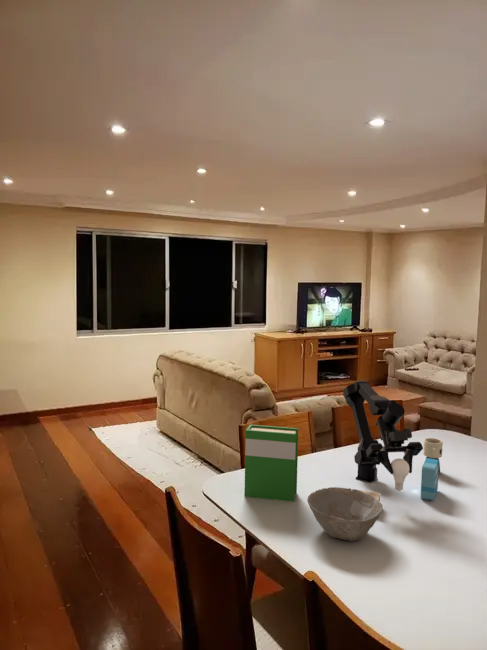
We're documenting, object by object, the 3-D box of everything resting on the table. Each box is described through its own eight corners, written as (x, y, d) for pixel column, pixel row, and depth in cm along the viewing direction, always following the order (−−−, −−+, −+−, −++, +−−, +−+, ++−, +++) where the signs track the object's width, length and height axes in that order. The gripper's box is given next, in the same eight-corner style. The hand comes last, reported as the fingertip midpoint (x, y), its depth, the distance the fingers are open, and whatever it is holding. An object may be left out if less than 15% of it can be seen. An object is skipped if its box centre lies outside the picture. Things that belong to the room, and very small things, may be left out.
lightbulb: (386, 486, 177) (387, 455, 176) (404, 486, 177) (405, 455, 176) (393, 494, 171) (394, 462, 170) (411, 494, 171) (413, 462, 170)
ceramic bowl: (337, 561, 141) (339, 526, 140) (292, 525, 161) (293, 494, 160) (398, 543, 151) (399, 510, 150) (348, 511, 171) (349, 482, 171)
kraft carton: (355, 511, 172) (355, 498, 171) (358, 502, 178) (359, 489, 178) (377, 515, 169) (378, 501, 169) (379, 506, 176) (380, 493, 175)
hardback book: (296, 493, 185) (298, 428, 183) (294, 501, 178) (295, 434, 176) (248, 488, 189) (250, 424, 187) (244, 496, 182) (245, 430, 180)
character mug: (442, 477, 203) (444, 445, 202) (423, 475, 205) (425, 443, 203) (439, 468, 213) (441, 437, 212) (421, 466, 215) (422, 435, 214)
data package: (433, 502, 180) (435, 469, 179) (420, 499, 182) (421, 466, 181) (437, 490, 190) (439, 458, 189) (424, 487, 192) (426, 456, 191)
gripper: (370, 420, 174) (383, 464, 164) (421, 419, 177) (437, 461, 167) (360, 436, 183) (372, 478, 173) (409, 434, 186) (423, 475, 176)
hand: (401, 473), depth 172 cm, fingers closed on lightbulb, 6 cm apart
